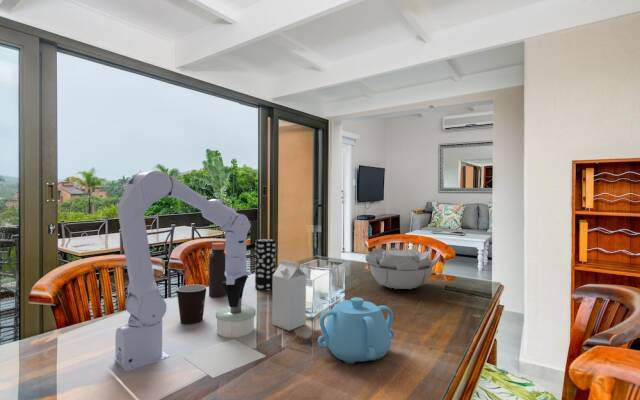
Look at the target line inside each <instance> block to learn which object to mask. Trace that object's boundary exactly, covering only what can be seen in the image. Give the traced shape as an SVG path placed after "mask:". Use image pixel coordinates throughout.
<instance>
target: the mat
mask: <svg viewBox="0 0 640 400" xmlns="http://www.w3.org/2000/svg"><path fill="white" fill-rule="evenodd" d="M265 357H267V355H265V354H263V353H262V352H259V351H258V350H256V349H254V348H251V346H248V345H246V344H244V343H241V342H240V341H238V340H236V339H234V338H233V339H230V340H227V341H224V342H221V343H218V344H214V345H212V346H209V347H206V348H203V349H201V350H198V351H197V350H196V351H193V352H192V353H188V354H185V355H183V356H182V358H183V359H184V360H185V361H188V362H189V363H190V364H192V365H193V366H194V367H196V368H198V369H199V370H201V371H202V372H204V374H206V375H208V377H211V378H212V379H215V378H218V377H219V376H222V375H224V374H227V373H230V372H232V371H234V370H237V369H239V368H242V367H244V366H246V365H248V364H252V363H254V362H256V361H258V360H261V359H263V358H265Z"/></svg>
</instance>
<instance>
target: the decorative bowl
mask: <svg viewBox="0 0 640 400" xmlns="http://www.w3.org/2000/svg"><path fill="white" fill-rule="evenodd" d="M440 259H441V254H439V255H438V256H437V257H435V258H434V259H432V260H431V252H430V251H429V250H425V251H424V252H423V253H421V252H420V251H419V249H417V248H414V247H413V248H410V249H409V248H407V249H406V250H405V249H401V250H400V249H399V248H396V247H391V248H390V249H389V250H386V249H383V248H380V249H378V248H376V247H373V248H372V250H371V251H370V250H368V251H367V254H365V261H366V262H367V264H368V265H369V267H370V272H371V274H372V275H371V276H373V278H374V279H375V281H376V282H377V283H378V284H379V285H381V286H384V287H387V288H389V289H392V288H394V289H393V290H397V289H409V290H413V288H414V289H416V288H418V287H421V285H422V286H423V285H425V284H426V283H427V281H428V280H429V278H430V277H431V275H432V272H433V271H432V270H433V267H435V265H437V264H438V262H439V260H440Z"/></svg>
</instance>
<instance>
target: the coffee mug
mask: <svg viewBox="0 0 640 400" xmlns="http://www.w3.org/2000/svg"><path fill="white" fill-rule="evenodd" d="M176 293H177V294H176V295H177V304H178V312H179V320H180V323H181V324H183V325H195V324H199V323H200V322H202V321H203V320H204V313H205V312H204V311H205V303H206V294H207V286H206V285H204V284H186V285H181V286H179V287H177V288H176Z"/></svg>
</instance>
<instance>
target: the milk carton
mask: <svg viewBox="0 0 640 400" xmlns="http://www.w3.org/2000/svg"><path fill="white" fill-rule="evenodd" d="M306 276H307V274H306V273H305V272H304V271H303V270H302V269H301V268H300V267H299V262H293V261H288V260H284V259H283V260H282V259H281V260H280V264H279V266H278V267H277V268H276V269H275V272H274V274H273V287H272V290H271V291H272V293H271V294H272V303H271V305H272V307H271V309H272V313H271V317H272V319H271V320H272V323H271V324H272V326H274V327H275V328H276V327H277V328H280V329H283V330H286V331H289V332H290V331H292V330H294V329H297V328H300V327H301V326H303V325H306V316H307V315H306V313H307V312H306V310H307V309H306V307H307V305H306V301H307V297H306V296H307V291H306V290H307V277H306Z"/></svg>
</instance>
